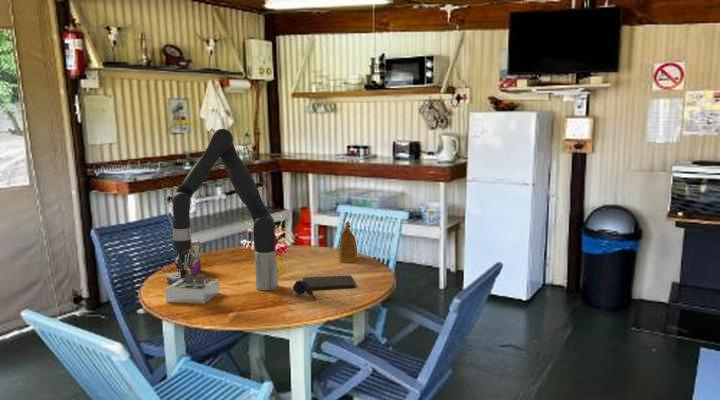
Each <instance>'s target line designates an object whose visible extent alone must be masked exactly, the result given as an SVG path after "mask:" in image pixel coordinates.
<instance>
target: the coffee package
mask: <svg viewBox="0 0 720 400" xmlns="http://www.w3.org/2000/svg"><path fill="white" fill-rule="evenodd" d="M350 224H351V223H350V222H349V221H346V222H345V224H344V225H345V226H344V227H343V230H342V233H341V237H340V241H339V245H338V254H337V255H338V258H337V260H338V262H339V263H340V264H351V263H356V262H357V256H358V247H357V240H356V237H355V236H354V234H353V232H352V231H351V230H350V228H351V226H352V225H350Z"/></svg>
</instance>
